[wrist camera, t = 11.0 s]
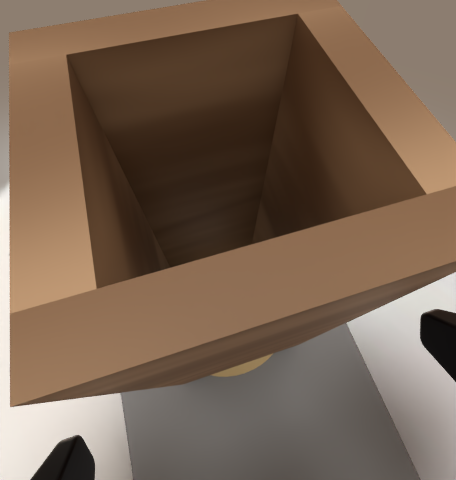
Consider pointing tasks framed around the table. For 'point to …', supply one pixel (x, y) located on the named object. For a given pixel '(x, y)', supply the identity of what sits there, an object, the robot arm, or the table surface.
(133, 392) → the post stand
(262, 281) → the wooden pencil cup
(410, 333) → the table surface
